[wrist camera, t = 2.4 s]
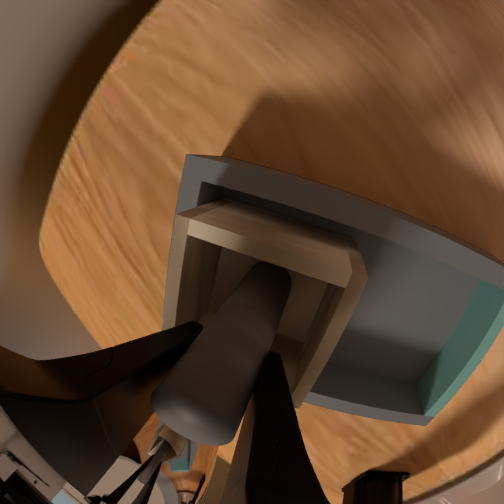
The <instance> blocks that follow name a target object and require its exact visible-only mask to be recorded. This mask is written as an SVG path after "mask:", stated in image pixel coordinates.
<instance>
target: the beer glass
mask: <svg viewBox="0 0 504 504" xmlns="http://www.w3.org/2000/svg"><path fill="white" fill-rule="evenodd" d="M218 448H219V446H212V445H205V444H201V443H197V442H195V441H192V440H190V439H187V438H185V437H183V436H181V435H180V434H178V433H176V432H175V431H173V430H172V429H171V428H169V427H168V426H167V425H166V424H165V423H164V422H163V421H162V420H161V419H160V418H159V417H158V416H157V414H156V413H155V412H154V414H153V415H152V416H151V417H150V419H149V420H148V421H147V422H146V424H145V425H144V426H143V428H142V429H141V430H140V431H139V433H138V434H137V435H136V436H135V438H134V439H133V440H132V441H131V443H130V444H129V445H128V446H127V448H126V449H125V450H124V451H123V453H122V454H121V455H120V456H119V457H118V459H117V460H116V461H115V463H114V464H113V465H112V466H111V467H110V469H109V470H108V471H107V472H106V474H105V475H104V476H103V477H102V478H101V480H100V481H99V482H98V483H97V484H96V486H95V487H94V488H93V489H92V490H91V492H90V493H89V494H88V495H87V496H86V497H84V496H83V495H81V494H80V493H79V492H78V491H76V490H75V489H74V488H72V487H71V486H70V485H69V484H67V483H66V484H65V485H64V487H63V488H62V489H61V490H62V491H63V492H64V493H65V494H67V495H68V496H69V497H70V498H71V499H72V500H74V501H75V502H76V503H78V504H200V503H201V501H202V498H203V496H204V494H205V492H206V490H207V487H208V484H209V481H210V478H211V475H212V472H213V468H214V464H215V460H216V456H217V452H218Z"/></svg>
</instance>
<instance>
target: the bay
mask: <svg viewBox="0 0 504 504" xmlns="http://www.w3.org/2000/svg"><path fill="white" fill-rule="evenodd" d="M223 198H229V199H232V200H236V201H239V202H242V203H246V204H249V205H252V206H256V207H259V208H262V209H266V210H269V211H272V212H275V213H279V214H282V215H285V216H288V217H291V218H294V219H297V220H301V221H304V222H307V223H310V224H313V225H316V226H319V227H322V228H325V229H328V230H331V231H334V232H337V233H339V234H342V235H345V236H348V237H351V238H354V239H356V241H357V244H358V247H359V250H360V253H361V256H362V259H363V262H364V265H365V268H366V271H367V274H368V281H367V283H366V285H365V288H364V290H363V292H362V294H361V296H360V299H359V301H358V303H357V305H356V307H355V309H354V311H353V313H352V315H351V317H350V319H349V321H348V323H347V325H346V327H345V329H344V331H343V333H342V335H341V337H340V339H339V341H338V343H337V345H336V347H335V348H334V350H333V352H332V354H331V356H330V357H329V359H328V361H327V363H326V365H325V366H324V368H323V370H322V372H321V373H320V375H319V377H318V378H317V380H316V382H315V383H314V385H313V387H312V388H311V390H310V391H309V393H308V395H307V396H306V398H305V399H304V401H303V402H306V403H309V404H313V405H316V406H320V407H324V408H328V409H332V410H336V411H340V412H345V413H349V414H354V415H358V416H363V417H368V418H374V419H379V420H385V421H391V422H398V423H405V424H413V425H422V426H426V425H427V424H428V423H429V422H430V421H431V420H432V419H433V418H434V417H435V416H436V415H437V414H438V413H439V412H440V411H441V410H442V409H443V407H444V406H445V405H446V404H447V403H448V402H449V401H450V400H451V399H452V397H453V396H454V395H455V394H456V393H457V391H458V390H459V389H460V388H461V387H462V385H463V384H464V383H465V382H466V380H467V379H468V378H469V376H470V375H471V374H472V372H473V371H474V370H475V368H476V367H477V366H478V364H479V363H480V361H481V360H482V359H483V357H484V356H485V354H486V353H487V351H488V350H489V348H490V347H491V345H492V344H493V342H494V340H495V339H496V337H497V336H498V334H499V332H500V331H501V329H502V327H503V325H504V263H503V262H502V261H500V260H499V259H497V258H496V257H494V256H493V255H491V254H489V253H487V252H485V251H484V250H482V249H480V248H478V247H476V246H474V245H472V244H470V243H468V242H466V241H464V240H462V239H460V238H458V237H456V236H454V235H451V234H449V233H447V232H445V231H443V230H441V229H439V228H436V227H434V226H432V225H430V224H427V223H425V222H423V221H420V220H418V219H416V218H413V217H411V216H409V215H406V214H404V213H401V212H399V211H396V210H394V209H391V208H389V207H386V206H384V205H381V204H379V203H376V202H373V201H371V200H368V199H365V198H362V197H360V196H357V195H354V194H351V193H348V192H345V191H342V190H340V189H337V188H334V187H331V186H328V185H324V184H321V183H318V182H315V181H312V180H309V179H305V178H302V177H299V176H295V175H292V174H288V173H285V172H281V171H278V170H274V169H271V168H267V167H263V166H259V165H256V164H252V163H248V162H244V161H240V160H235V159H231V158H227V157H223V156H212V155H193V154H186V158H185V163H184V168H183V173H182V178H181V184H180V189H179V195H178V200H177V206H176V212H175V215H176V214H178V213H180V212H183V211H186V210H189V209H192V208H195V207H198V206H201V205H204V204H207V203H210V202H213V201H216V200H219V199H223ZM174 222H175V218H174ZM173 228H174V225H173ZM172 235H173V232H172ZM171 242H172V239H171ZM170 250H171V246H170ZM169 257H170V254H169ZM168 265H169V262H168ZM167 274H168V270H167ZM166 283H167V279H166ZM165 293H166V289H165ZM164 304H165V299H164ZM163 316H164V311H163ZM162 331H163V324H162Z"/></svg>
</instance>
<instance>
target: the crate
mask: <svg viewBox="0 0 504 504" xmlns="http://www.w3.org/2000/svg"><path fill="white" fill-rule="evenodd" d="M367 281H368V274H367V271H366V268H365V265H364V262H363V259H362V256H361V253H360V250H359V247H358V244H357V241H356V239H354V238H351V237H348V236H345V235H342V234H339V233H337V232H334V231H331V230H328V229H325V228H322V227H319V226H316V225H313V224H310V223H307V222H304V221H301V220H297V219H294V218H291V217H288V216H285V215H282V214H279V213H275V212H272V211H269V210H266V209H262V208H259V207H256V206H252V205H249V204H246V203H242V202H239V201H236V200H232V199H229V198H223V199H219V200H216V201H213V202H210V203H207V204H204V205H201V206H198V207H195V208H192V209H189V210H186V211H183V212H180V213H178V214H176V215H175V222H174V228H173V235H172V242H171V250H170V257H169V265H168V274H167V283H166V293H165V304H164V316H163V330H166V329H169V328H172V327H175V326H178V325H181V324H184V323H186V322H189V321H196V322H198V323H200V324H202V325H203V330H202V331H201V333H200V334H199V335H198V336H197V338H196V339H195V340H194V341H193V343H192V344H191V345H190V346H189V348H188V349H187V350H186V351H185V353H184V354H183V355H182V356H181V358H180V359H179V360H178V361H177V363H176V364H175V365H174V366H173V368H172V369H171V370H170V371H169V373H168V374H167V375H166V376H165V378H164V379H163V380H162V381H161V383H160V384H159V385H158V386H157V388H156V389H155V390H154V391H153V393H152V394H151V398H150V401H151V405H152V408H153V410H154V411H155V413H156V414H157V416H158V417H159V418H160V419H161V420H162V421H163V422H164V423H165V424H166V425H167V426H168V427H169V428H171V429H172V430H173V431H175V432H176V433H178V434H180V435H181V436H183V437H185V438H187V439H190V440H192V441H195V442H197V443H201V444H205V445H212V446H219V445H225V444H228V443H230V442H231V441H232V440H233V439H234V437H235V434H236V432H237V430H238V427H239V425H240V423H241V420H242V418H243V416H244V413H245V411H246V408H247V406H248V404H249V401H250V399H251V396H252V394H253V391H254V389H255V386H256V383H257V380H258V378H259V375H260V373H261V370H262V367H263V365H264V362H265V360H266V357H267V354H268V352H269V351H273V352H276V353H279V354H280V355H281V358H282V361H283V365H284V369H285V373H286V377H287V381H288V385H289V389H290V392H291V396H292V400H293V404H294V407H295V408H299V407H300V406H301V404H302V403H303V401H304V399H305V398H306V396H307V395H308V393H309V391H310V390H311V388H312V387H313V385H314V383H315V382H316V380H317V378H318V377H319V375H320V373H321V372H322V370H323V368H324V366H325V365H326V363H327V361H328V359H329V357H330V356H331V354H332V352H333V350H334V348H335V347H336V345H337V343H338V341H339V339H340V337H341V335H342V333H343V331H344V329H345V327H346V325H347V323H348V321H349V319H350V317H351V315H352V313H353V311H354V309H355V307H356V305H357V303H358V301H359V299H360V296H361V294H362V292H363V290H364V288H365V285H366V283H367Z"/></svg>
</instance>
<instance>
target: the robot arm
mask: <svg viewBox="0 0 504 504" xmlns="http://www.w3.org/2000/svg"><path fill="white" fill-rule="evenodd" d="M202 330H203V325H202V324H200V323H198V322H196V321H189V322H186V323H184V324H181V325H178V326H175V327H172V328H169V329H166V330H163V331H160V332H157V333H154V334H151V335H148V336H145V337H142V338H138V339H135V340H132V341H129V342H126V343H123V344H119V345H116V346H114V347H109V348H106V349H102V350H99V351H95V352H91V353H86V354H81V355H76V356H71V357H64V358H58V359H51V360H34V359H30V358H27V357H25V356H22V355H20V354H17V353H15V352H13V351H10V350H8V349H6V348H4V347H2V346H0V504H53V503H52V502H51V500H52V499H53V498H54V497H55V496H56V495H57V493H58V492H59V491H60V490H61V489H62V488H63V487H64V485H65V484H66V483H67V484H69V485H70V486H71V487H72V488H74V489H75V490H76V491H78V492H79V493H80V494H81V495H83V496H84V497H86V496H87V495H88V494H89V493H90V492H91V490H92V489H93V488H94V487H95V486H96V484H97V483H98V482H99V481H100V480H101V478H102V477H103V476H104V475H105V474H106V472H107V471H108V470H109V469H110V467H111V466H112V465H113V464H114V463H115V461H116V460H117V459H118V457H119V456H120V455H121V454H122V453H123V451H124V450H125V449H126V448H127V446H128V445H129V444H130V443H131V441H132V440H133V439H134V438H135V436H136V435H137V434H138V433H139V431H140V430H141V429H142V428H143V426H144V425H145V424H146V422H147V421H148V420H149V419H150V417H151V416H152V415H153V414H154V412H155V411H154V410H153V408H152V405H151V401H150V398H151V394H152V393H153V391H154V390H155V389H156V388H157V386H158V385H159V384H160V383H161V381H162V380H163V379H164V378H165V376H166V375H167V374H168V373H169V371H170V370H171V369H172V368H173V366H174V365H175V364H176V363H177V361H178V360H179V359H180V358H181V356H182V355H183V354H184V353H185V351H186V350H187V349H188V348H189V346H190V345H191V344H192V343H193V341H194V340H195V339H196V338H197V336H198V335H199V334H200V333H201V331H202ZM409 477H410V473H390V472H375V471H368V472H366V473H364V474H363V475H361V476H360V477H358V478H357V479H356V480H354V481H353V482H351V483H350V484H348V485H346V486H345V487H343V488H342V492H344V496H343V504H403V489H402V482H403V481H405V480H406V479H408V478H409ZM220 504H330V502H329V501H328V499H327V498H326V496H325V494H324V492H323V490H322V487H321V485H320V483H319V481H318V478H317V476H316V474H315V471H314V469H313V467H312V464H311V462H310V459H309V457H308V454H307V452H306V449H305V445H304V442H303V439H302V435H301V431H300V428H299V423H298V420H297V416H296V412H295V408H294V404H293V400H292V396H291V392H290V389H289V385H288V381H287V377H286V373H285V369H284V365H283V361H282V358H281V355H280V354H279V353H276V352H273V351H269V352H268V354H267V357H266V360H265V362H264V365H263V367H262V370H261V373H260V375H259V378H258V380H257V383H256V386H255V389H254V391H253V394H252V396H251V399H250V401H249V404H248V406H247V408H246V411H245V415H244V419H243V423H242V426H241V430H240V434H239V437H238V441H237V445H236V448H235V452H234V456H233V459H232V463H231V466H230V470H229V473H228V477H227V480H226V484H225V487H224V490H223V494H222V497H221V500H220Z"/></svg>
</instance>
